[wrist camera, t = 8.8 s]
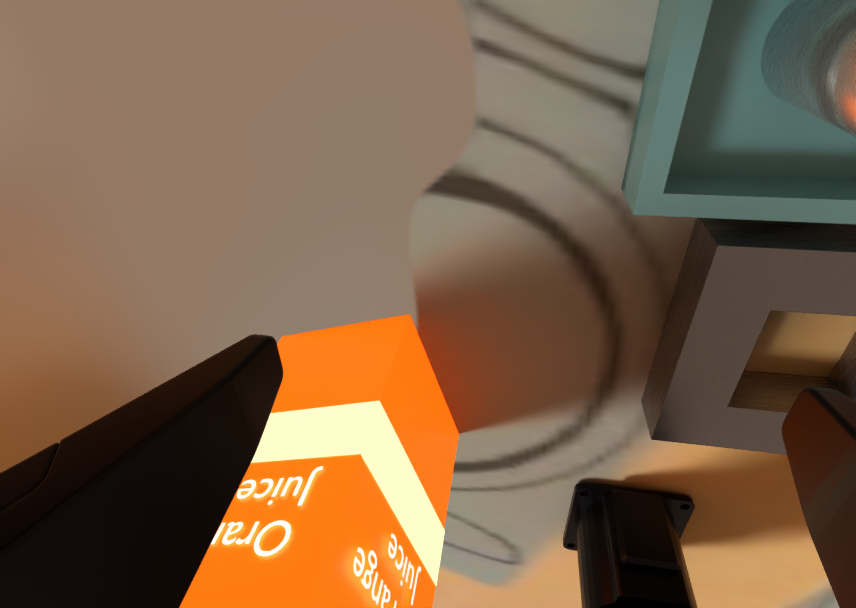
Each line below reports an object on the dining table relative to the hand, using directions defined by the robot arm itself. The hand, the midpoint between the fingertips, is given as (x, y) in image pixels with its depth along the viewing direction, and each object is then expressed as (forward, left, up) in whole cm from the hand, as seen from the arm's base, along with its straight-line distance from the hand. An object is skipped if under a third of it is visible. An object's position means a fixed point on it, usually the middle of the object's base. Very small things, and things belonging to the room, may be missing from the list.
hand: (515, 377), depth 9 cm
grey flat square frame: (-7, -12, -12) cm, 19 cm away
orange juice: (-13, +7, -13) cm, 20 cm away
